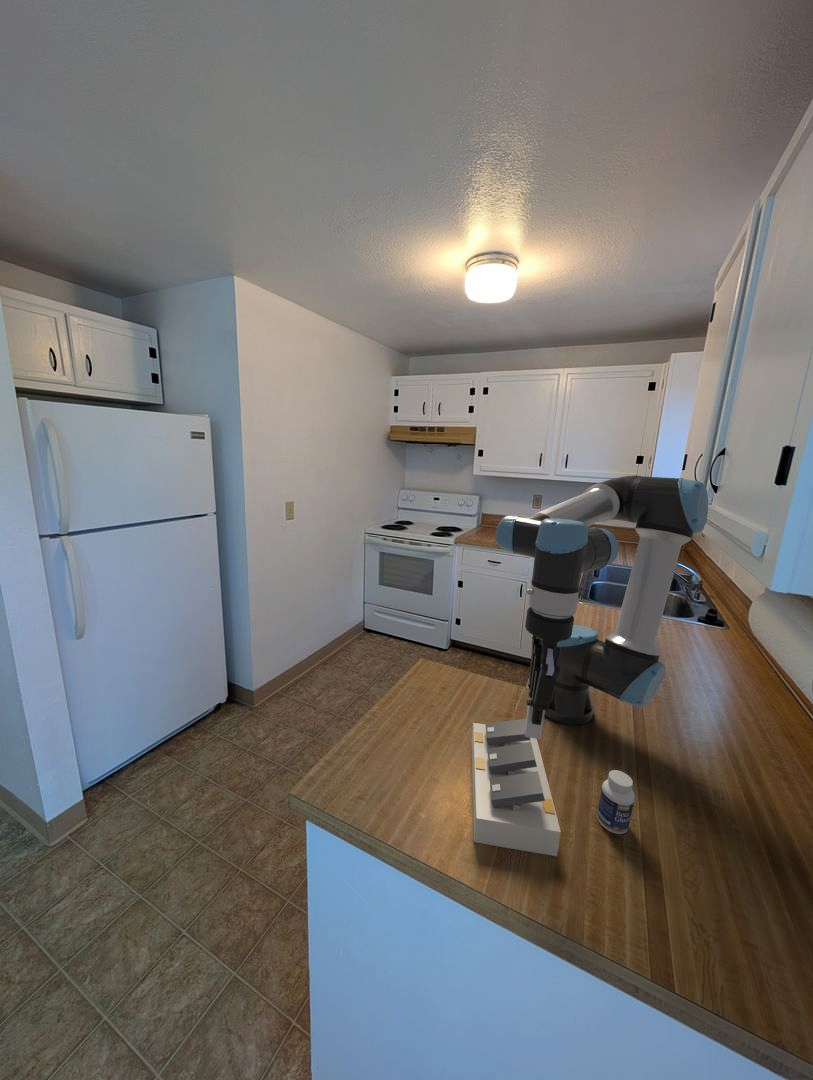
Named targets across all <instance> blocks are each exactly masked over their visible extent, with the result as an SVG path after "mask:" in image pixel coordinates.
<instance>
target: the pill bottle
mask: <svg viewBox="0 0 813 1080" xmlns="http://www.w3.org/2000/svg"><path fill="white" fill-rule="evenodd" d="M633 781H634V780H633V779H632V778H631V776H630V775H628V774H627V773H625V772H623V771H621V770H616V769H613V770H610V771H609V773H608V777H607V779H605V780H604V781H603V782H602V784H601V785H602V786H601V790H600V795H599V800H598V801H599V802H598V806H597V809H596V810H597V811H596V817H597V821H598V822H599V824H600V825H601V826H602V827H603V828H604V829H606V831H608V832H611V833H613V834H617V835H623V834H625V833H627V832H628V830H629V828H630V822H631V820H632V819H631V817H632V813H633V809H634V805H635V804H634V803H635V799H636V797H635V793H634V791H633V785H634V782H633Z"/></svg>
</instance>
